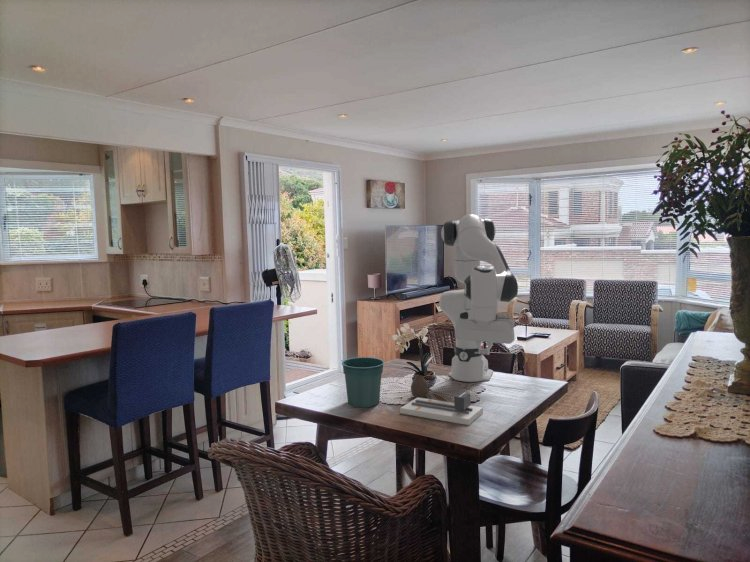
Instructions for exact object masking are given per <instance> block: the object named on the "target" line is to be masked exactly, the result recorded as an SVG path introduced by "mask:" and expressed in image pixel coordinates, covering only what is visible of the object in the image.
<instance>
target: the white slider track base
mask: <svg viewBox="0 0 750 562" xmlns="http://www.w3.org/2000/svg"><path fill="white" fill-rule="evenodd" d="M399 411H400V414H402V415H409V416H415V417H420V418H425V419H431V420H437V421H443V422H449V423H452V424H453V423H454V424H458V425H459V424H461V425H466V426H470V425H471V424H472V423H474V421H476V419H478V418H479V417H480V416H481V415H483V414H484V407H483V406H476V405H471V404H470V406H469V407H468V408H467V409H465V410H459V409H454V402H452V401H451V402H450V401H445V400H437V399H432V398H431V399H430V398H426V397H425V398H419V397H417V398H414V399H413V400H411V401H409V402H408V403H406V404H403V406H402V407H400V409H399Z"/></svg>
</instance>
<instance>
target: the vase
mask: <svg viewBox="0 0 750 562" xmlns="http://www.w3.org/2000/svg"><path fill="white" fill-rule="evenodd" d="M410 393H411V395H412V396H413V398H414V399H416V398H417V397H419V398H425V399H426V398H427V396H428V394H429V384H428V382H427V381H426V379H425V378H424V376H423V375H421V374H417V375H416V376H415V378H414V379H413V381H412V382H411V385H410Z"/></svg>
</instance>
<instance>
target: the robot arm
mask: <svg viewBox="0 0 750 562" xmlns="http://www.w3.org/2000/svg"><path fill="white" fill-rule="evenodd" d="M496 233H497V232H496V226H495V224H494V221H493V220H492V219H491V218H484V217H483V218H481V217H480V216H478V215H476V214H475V213H474V214H473V213H468V214H465V215H464V216H462V217H461V218H460V219H458V220H449V221H445V223H443V226H442V228H441V231H440V234H441V239H442V241H443V243H444V244H445V245H446V246H449V247H453V246H454V249H453V250H454V252H453V260H454V261H453V263H454V264H453V270H454V277H455V279H456V280H457V281H458V282H460V283H462V284H463V285H464V289H463V290H462V289H461V290H460V289H457V290H456V289H455V290H454V289H453V290H447V291H444V292H442V293H441V295H440V297H439V300H438V305H439V308H440V310H441V311H442V312H443V313H444V314H445V315H446V316H447V317H448V318H449V320H450V321H451V323H452V326H453V328H454V337H455V346H454V356H453V357H452V358H451V370H450V372H448V377H451V378H452V380H453V379H454V380H456V381H459V382H467V383H468V382H469V383H475V382H482V381H484V382H486V381H487V382H488V381H490V379H491V377H493V374H494V370H492V369H490V368H489V362H488V361H489V360H488V359H487V358H486V357H485V356H490V354H491V351H490V350H491V348H492V347H493V345H494V343H495V344H512V343H513V342H514V341H515V339H516V338H515V329H514V328H515V324H516V323H515V319H514V318H513V317H511V315H503V314H498V308H499V307H498V306H499V302H504V303H505V302H506V303H510V302H511V301H513V300H514V299H515V298H516V297H517V296H518V293H519V291H518V290H519V284H518V281H517V278H516V277H515V275H514V274H513V272H512V271H511V268H510V267H509V265H508V262H507V260H506V258H505V256H504V254H503V252H502V250H501V248H500V246H499V245H498V244H496V243H494V242H493V241H494V240H495V236H496ZM481 262H484V263H487V264H490V266H489V265H481ZM482 342H483V343H486V345H487V348H485V345H483V344H482ZM484 355H485V356H484Z"/></svg>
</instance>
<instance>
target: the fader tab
mask: <svg viewBox="0 0 750 562" xmlns="http://www.w3.org/2000/svg"><path fill="white" fill-rule="evenodd" d="M453 397H454V398H453V399H454V401H453V403H454V409H459V410H465V409H467V408H468V407H469V406H470V405H471V392H463V391H460V392H459V393H457V394H456V395H454V396H453Z"/></svg>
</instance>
